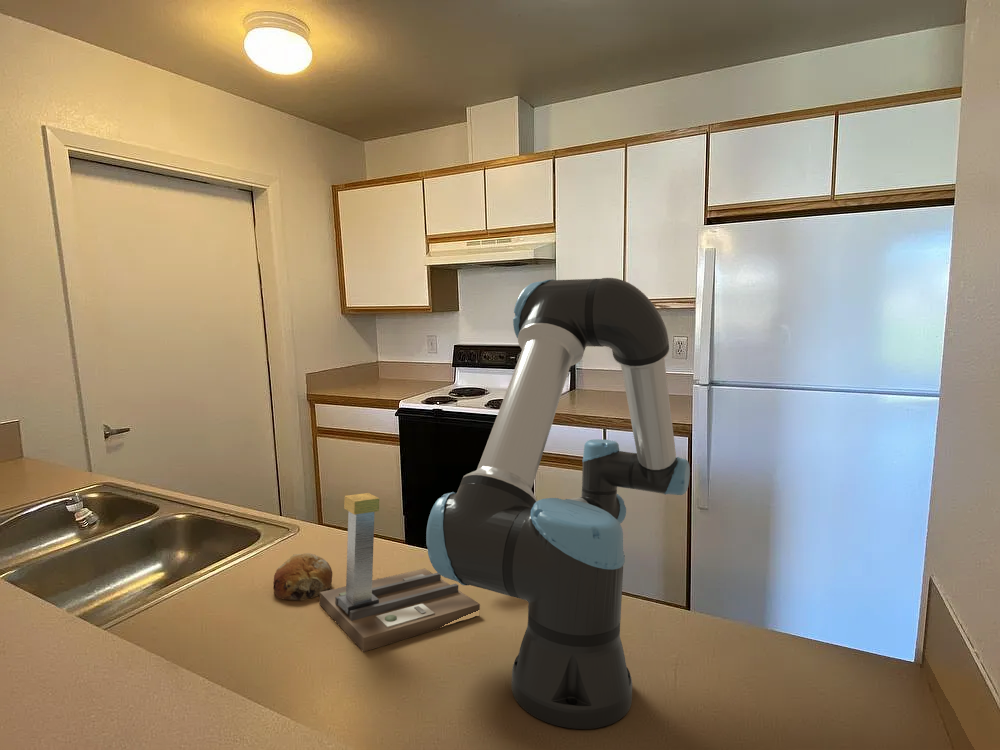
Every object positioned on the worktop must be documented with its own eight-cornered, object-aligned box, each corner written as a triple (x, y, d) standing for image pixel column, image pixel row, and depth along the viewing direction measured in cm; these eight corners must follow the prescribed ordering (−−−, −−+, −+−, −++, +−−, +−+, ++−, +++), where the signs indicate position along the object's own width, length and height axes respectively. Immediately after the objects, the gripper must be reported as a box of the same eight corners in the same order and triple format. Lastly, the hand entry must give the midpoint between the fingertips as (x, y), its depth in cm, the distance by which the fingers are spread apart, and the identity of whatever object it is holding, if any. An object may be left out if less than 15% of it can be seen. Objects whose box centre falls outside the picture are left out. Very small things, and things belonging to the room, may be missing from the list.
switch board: (479, 616, 89) (480, 596, 89) (363, 651, 77) (364, 629, 77) (424, 578, 103) (425, 562, 103) (319, 604, 91) (320, 585, 91)
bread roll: (336, 604, 99) (344, 558, 103) (315, 602, 90) (325, 551, 93) (283, 599, 100) (293, 554, 104) (258, 597, 91) (269, 547, 94)
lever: (378, 606, 86) (382, 497, 85) (347, 614, 83) (351, 501, 82) (368, 597, 89) (371, 492, 88) (338, 604, 86) (341, 496, 85)
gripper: (588, 545, 108) (493, 569, 93) (544, 528, 118) (452, 547, 104) (590, 507, 108) (494, 525, 93) (545, 493, 118) (453, 508, 103)
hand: (472, 537), depth 98 cm, fingers closed
